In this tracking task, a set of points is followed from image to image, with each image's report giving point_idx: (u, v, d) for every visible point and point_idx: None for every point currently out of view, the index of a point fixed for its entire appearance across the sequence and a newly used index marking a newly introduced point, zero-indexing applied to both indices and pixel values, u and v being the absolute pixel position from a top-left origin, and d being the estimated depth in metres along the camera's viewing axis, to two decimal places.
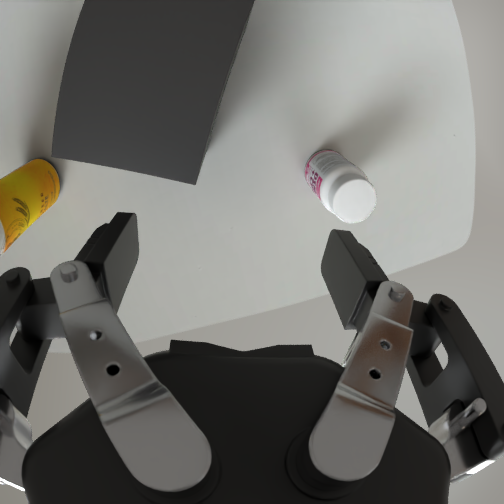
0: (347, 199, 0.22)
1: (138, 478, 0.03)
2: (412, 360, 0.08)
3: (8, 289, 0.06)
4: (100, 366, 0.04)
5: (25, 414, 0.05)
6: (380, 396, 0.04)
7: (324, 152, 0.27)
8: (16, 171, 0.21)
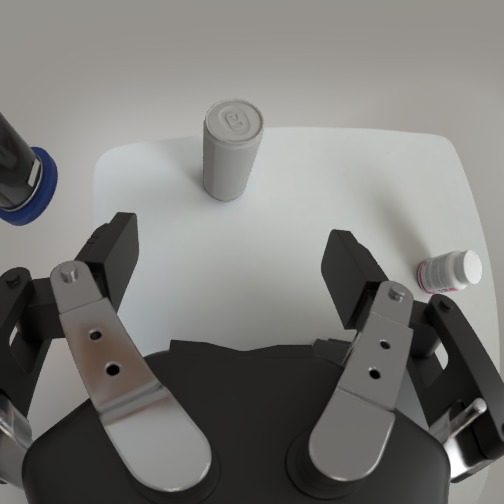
0: (472, 273, 0.26)
1: (138, 478, 0.03)
2: (412, 360, 0.08)
3: (8, 289, 0.06)
4: (100, 366, 0.04)
5: (25, 414, 0.05)
6: (380, 396, 0.04)
7: (423, 279, 0.33)
8: None
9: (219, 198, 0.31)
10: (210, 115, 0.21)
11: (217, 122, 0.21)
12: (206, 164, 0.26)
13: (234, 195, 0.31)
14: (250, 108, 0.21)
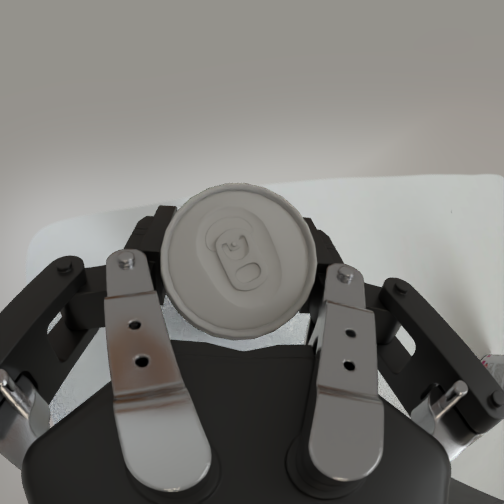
0: None
1: (130, 468, 0.03)
2: None
3: (57, 276, 0.07)
4: (130, 355, 0.05)
5: (49, 399, 0.06)
6: (361, 387, 0.05)
7: None
8: None
9: None
10: (173, 243, 0.08)
11: (193, 267, 0.08)
12: None
13: None
14: (281, 213, 0.09)
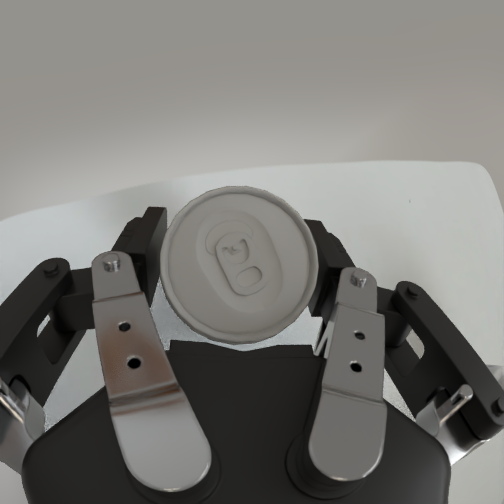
0: None
1: (131, 471, 0.03)
2: (384, 351, 0.09)
3: (44, 278, 0.06)
4: (122, 357, 0.04)
5: (43, 402, 0.05)
6: (366, 389, 0.05)
7: None
8: None
9: None
10: (173, 246, 0.08)
11: (193, 271, 0.08)
12: None
13: None
14: (281, 216, 0.09)
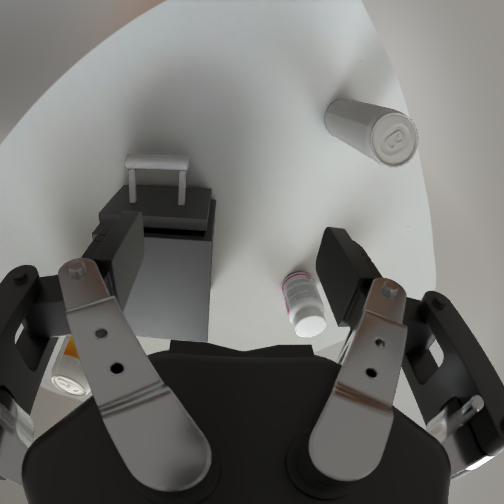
0: (304, 327, 0.34)
1: (137, 477, 0.03)
2: (407, 358, 0.08)
3: (15, 286, 0.06)
4: (104, 364, 0.04)
5: (28, 411, 0.05)
6: (378, 395, 0.04)
7: (293, 278, 0.39)
8: None
9: (325, 119, 0.29)
10: (395, 116, 0.18)
11: (389, 124, 0.19)
12: (351, 109, 0.23)
13: (331, 133, 0.29)
14: (410, 151, 0.20)
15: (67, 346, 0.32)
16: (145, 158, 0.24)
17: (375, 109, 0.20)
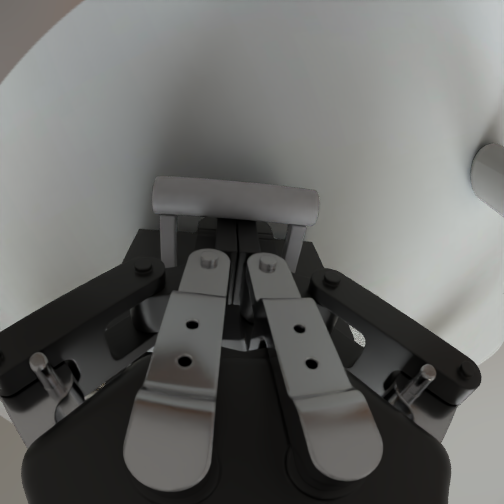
0: None
1: (125, 453, 0.03)
2: None
3: (133, 275, 0.07)
4: (176, 352, 0.05)
5: (90, 390, 0.06)
6: (332, 382, 0.05)
7: None
8: None
9: (476, 172, 0.15)
10: None
11: None
12: None
13: (481, 195, 0.16)
14: None
15: None
16: (208, 191, 0.10)
17: None
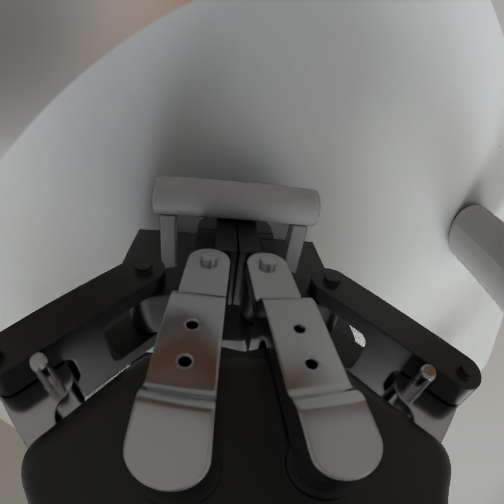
0: None
1: (125, 453, 0.03)
2: None
3: (133, 275, 0.07)
4: (176, 352, 0.05)
5: (90, 390, 0.06)
6: (332, 382, 0.05)
7: None
8: None
9: (453, 235, 0.18)
10: None
11: None
12: None
13: (456, 256, 0.18)
14: None
15: None
16: (208, 191, 0.10)
17: None
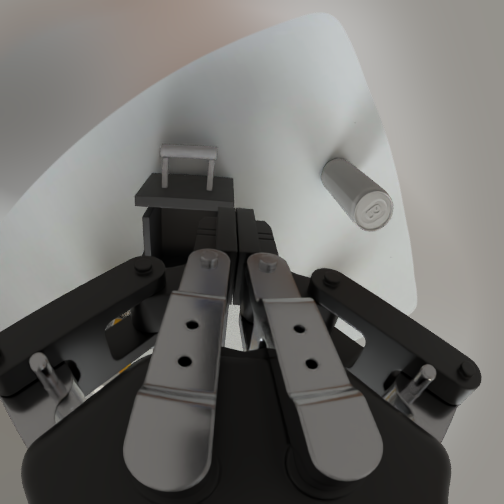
0: None
1: (124, 453, 0.03)
2: None
3: (133, 275, 0.07)
4: (176, 352, 0.05)
5: (90, 390, 0.06)
6: (332, 382, 0.05)
7: None
8: None
9: (322, 176, 0.37)
10: (375, 193, 0.26)
11: (370, 200, 0.27)
12: (342, 178, 0.31)
13: None
14: (386, 218, 0.28)
15: None
16: (178, 147, 0.28)
17: (360, 185, 0.28)
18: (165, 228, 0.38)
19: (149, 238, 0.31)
